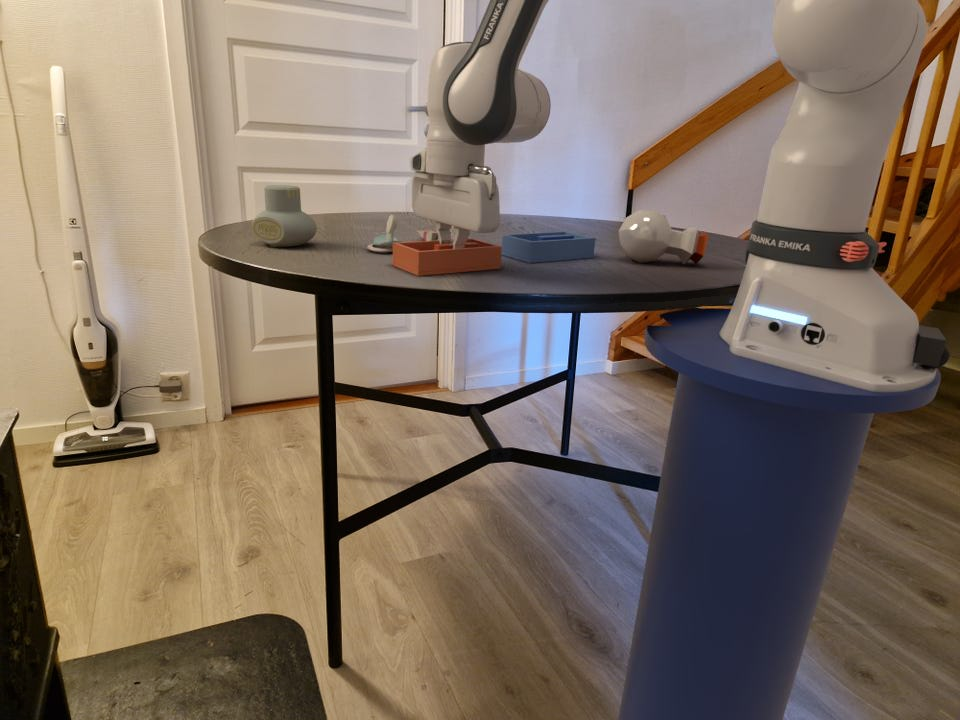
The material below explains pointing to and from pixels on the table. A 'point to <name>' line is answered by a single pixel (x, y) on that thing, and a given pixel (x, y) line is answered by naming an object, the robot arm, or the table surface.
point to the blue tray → (547, 247)
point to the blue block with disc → (554, 237)
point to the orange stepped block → (447, 246)
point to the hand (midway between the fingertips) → (451, 253)
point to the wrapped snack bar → (429, 235)
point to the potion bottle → (659, 238)
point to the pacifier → (386, 238)
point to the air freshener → (283, 218)
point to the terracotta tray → (445, 257)
